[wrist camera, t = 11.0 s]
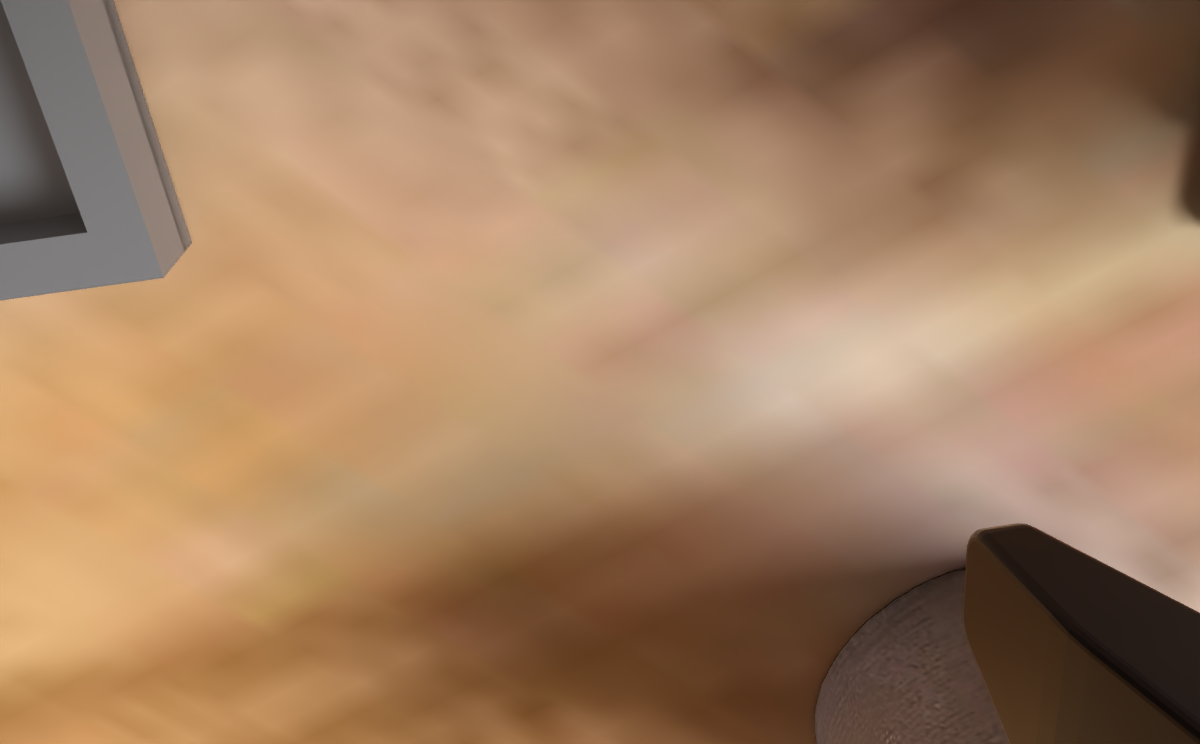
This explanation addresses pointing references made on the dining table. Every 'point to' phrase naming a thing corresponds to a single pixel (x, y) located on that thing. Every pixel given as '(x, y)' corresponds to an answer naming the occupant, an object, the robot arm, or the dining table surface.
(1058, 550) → the robot arm
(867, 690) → the pillar candle
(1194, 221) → the dining table surface
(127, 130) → the tray
